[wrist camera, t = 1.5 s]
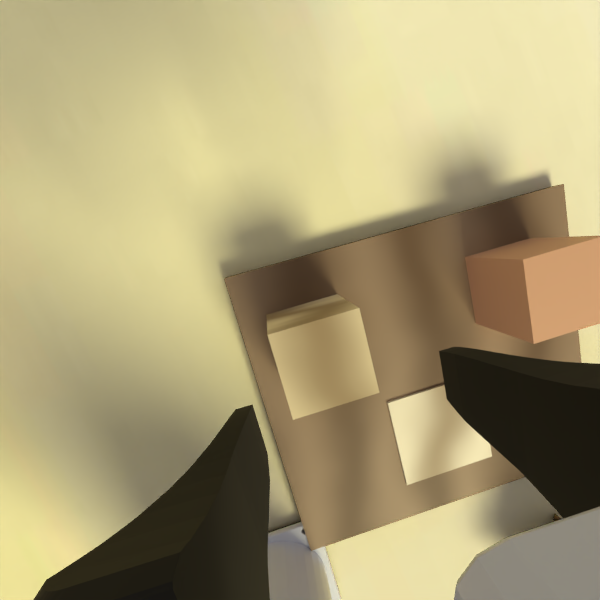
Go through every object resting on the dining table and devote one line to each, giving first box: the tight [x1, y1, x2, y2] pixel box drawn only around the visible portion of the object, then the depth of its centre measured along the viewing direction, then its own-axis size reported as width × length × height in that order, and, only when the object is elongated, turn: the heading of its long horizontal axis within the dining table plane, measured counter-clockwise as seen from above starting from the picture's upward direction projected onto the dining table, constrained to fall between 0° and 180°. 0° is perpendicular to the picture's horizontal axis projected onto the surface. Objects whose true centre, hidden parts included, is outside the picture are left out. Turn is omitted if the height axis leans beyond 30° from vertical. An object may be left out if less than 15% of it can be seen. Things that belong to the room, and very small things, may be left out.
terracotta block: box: [465, 236, 600, 344], centre depth 18 cm, size 4×4×4 cm
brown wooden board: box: [224, 184, 581, 551], centre depth 21 cm, size 22×20×1 cm
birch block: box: [266, 294, 379, 420], centre depth 17 cm, size 4×4×4 cm
